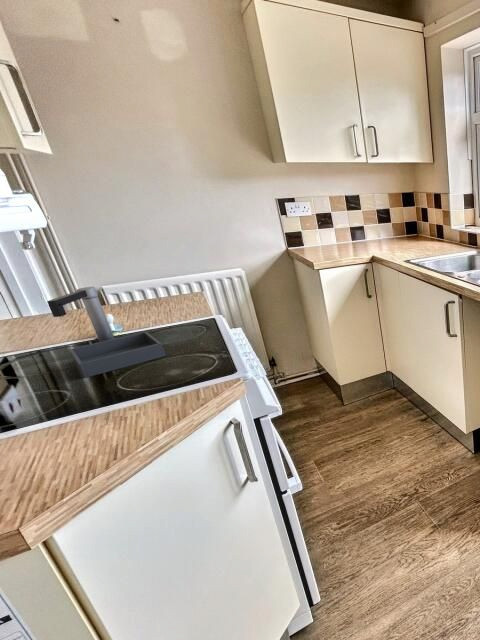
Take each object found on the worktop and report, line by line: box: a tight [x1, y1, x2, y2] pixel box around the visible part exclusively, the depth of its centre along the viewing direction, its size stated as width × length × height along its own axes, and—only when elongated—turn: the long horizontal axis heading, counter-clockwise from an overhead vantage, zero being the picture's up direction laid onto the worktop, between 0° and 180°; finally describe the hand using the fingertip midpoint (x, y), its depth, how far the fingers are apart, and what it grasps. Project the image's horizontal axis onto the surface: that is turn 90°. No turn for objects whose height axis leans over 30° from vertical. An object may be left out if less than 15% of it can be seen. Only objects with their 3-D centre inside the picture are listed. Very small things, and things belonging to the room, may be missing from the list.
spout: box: [46, 286, 99, 318], centre depth 103 cm, size 3×13×4 cm, turn 11°
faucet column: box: [81, 296, 116, 342], centre depth 110 cm, size 6×6×14 cm
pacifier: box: [94, 313, 123, 339], centre depth 120 cm, size 7×6×6 cm
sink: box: [68, 331, 167, 379], centre depth 105 cm, size 15×14×4 cm
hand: (9, 252), depth 99 cm, fingers open, 8 cm apart
